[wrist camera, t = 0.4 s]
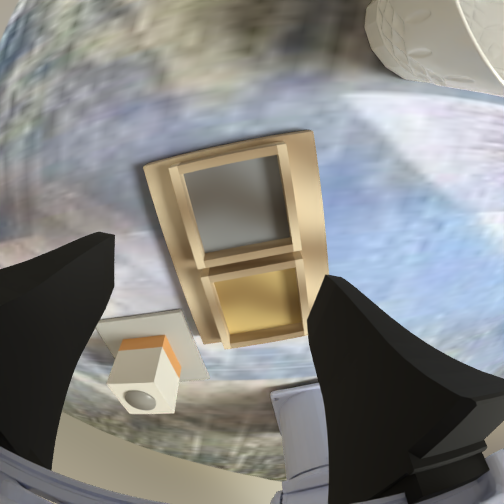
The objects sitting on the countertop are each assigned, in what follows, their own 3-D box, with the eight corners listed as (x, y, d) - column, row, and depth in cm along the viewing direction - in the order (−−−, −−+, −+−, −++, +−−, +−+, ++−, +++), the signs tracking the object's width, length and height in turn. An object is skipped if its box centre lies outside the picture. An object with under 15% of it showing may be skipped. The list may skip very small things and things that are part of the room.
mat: (209, 375, 27) (209, 378, 26) (132, 381, 27) (131, 384, 27) (181, 308, 23) (180, 312, 23) (95, 320, 23) (93, 323, 23)
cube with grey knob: (181, 367, 25) (174, 415, 21) (141, 370, 26) (129, 415, 21) (165, 334, 24) (153, 384, 19) (122, 339, 24) (105, 386, 19)
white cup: (447, 105, 16) (557, 131, 8) (347, 69, 16) (444, 52, 7) (456, 13, 13) (557, -2, 4) (359, -32, 12) (440, -96, 3)
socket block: (328, 313, 24) (335, 332, 22) (204, 335, 24) (202, 355, 22) (309, 129, 17) (318, 133, 15) (147, 163, 18) (137, 171, 16)
